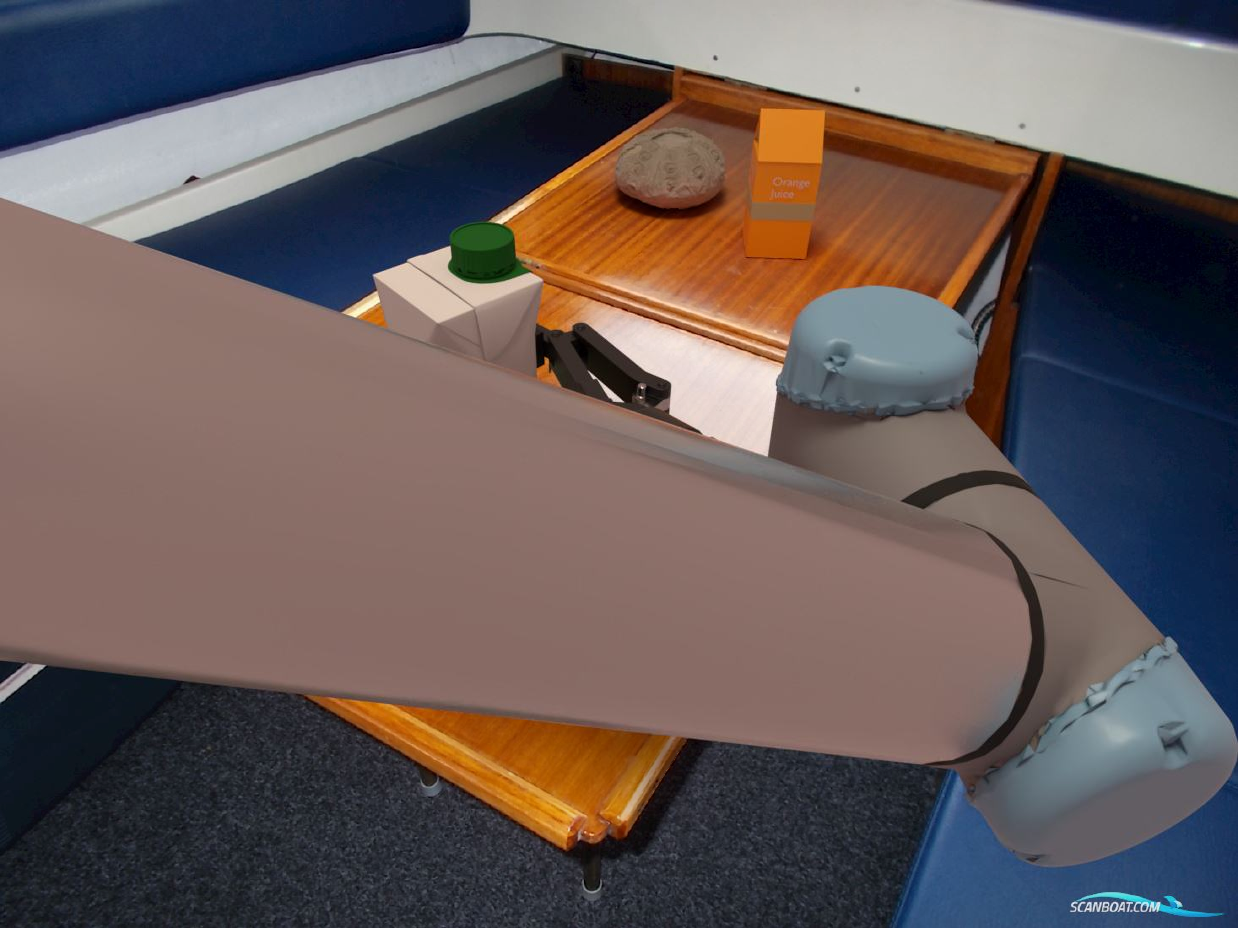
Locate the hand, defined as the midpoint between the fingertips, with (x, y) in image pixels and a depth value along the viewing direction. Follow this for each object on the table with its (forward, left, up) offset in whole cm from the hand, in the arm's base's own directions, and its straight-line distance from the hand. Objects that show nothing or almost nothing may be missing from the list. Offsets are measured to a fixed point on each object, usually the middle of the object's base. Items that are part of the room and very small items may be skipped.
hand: (425, 343), depth 60 cm
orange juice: (+65, +41, -26) cm, 81 cm away
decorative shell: (+60, +63, -26) cm, 90 cm away
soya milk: (+2, -4, -11) cm, 12 cm away
